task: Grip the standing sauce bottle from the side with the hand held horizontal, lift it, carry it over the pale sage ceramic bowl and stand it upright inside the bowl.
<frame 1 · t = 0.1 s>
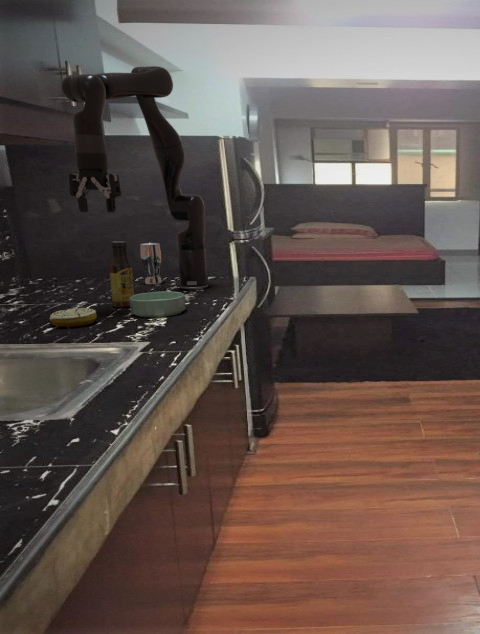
hand: (97, 212, 167), 29 cm above the counter, tool pointing down, fingers open, 8 cm apart
decorated donut: (74, 324, 161), on the counter
sauce bottle: (124, 306, 185), on the counter
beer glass: (153, 284, 225), on the counter
bowl: (159, 312, 176), on the counter
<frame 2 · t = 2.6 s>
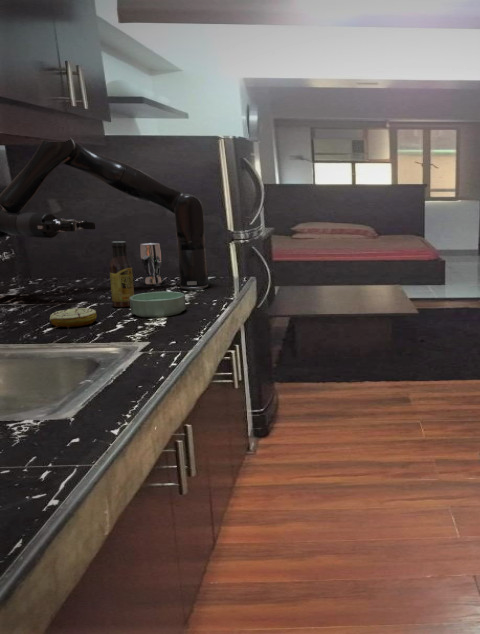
hand: (84, 226, 182), 24 cm above the counter, tool horizontal, fingers open, 8 cm apart
nothing on the counter moved.
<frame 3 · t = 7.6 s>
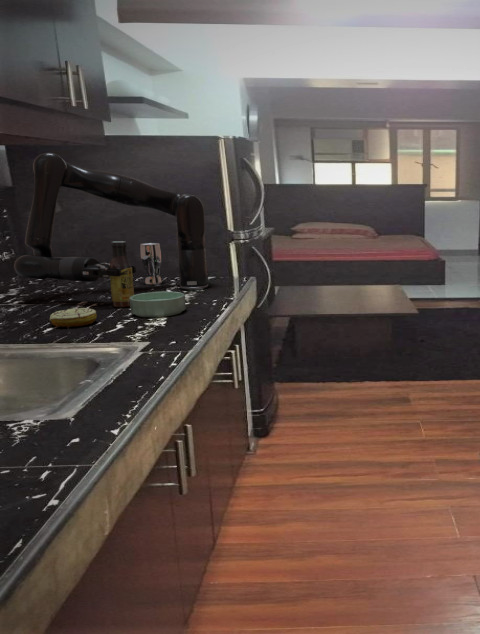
hand: (127, 271, 182), 11 cm above the counter, tool horizontal, fingers closed on sauce bottle, 6 cm apart
sauce bottle: (124, 306, 185), on the counter, touching gripper
everything else where it was.
when the fingers open (12 cm above the counter, at t = 17.0 s): sauce bottle stays where it is, resting on bowl.
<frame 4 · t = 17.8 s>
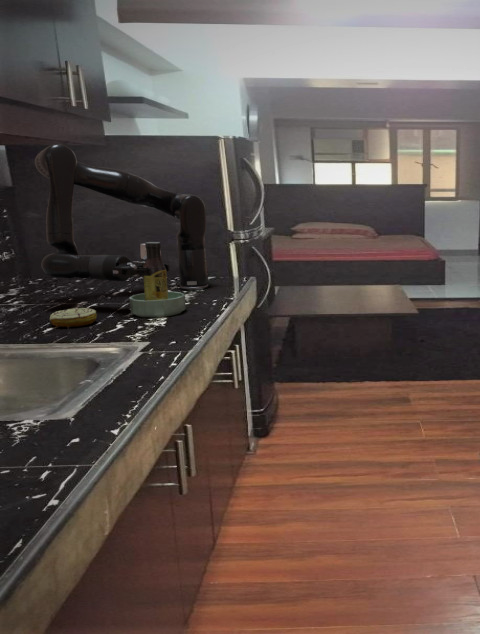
hand: (159, 269, 173), 13 cm above the counter, tool horizontal, fingers open, 8 cm apart
sauce bottle: (158, 310, 176), point 1 cm above the counter, touching bowl
everything else where it was.
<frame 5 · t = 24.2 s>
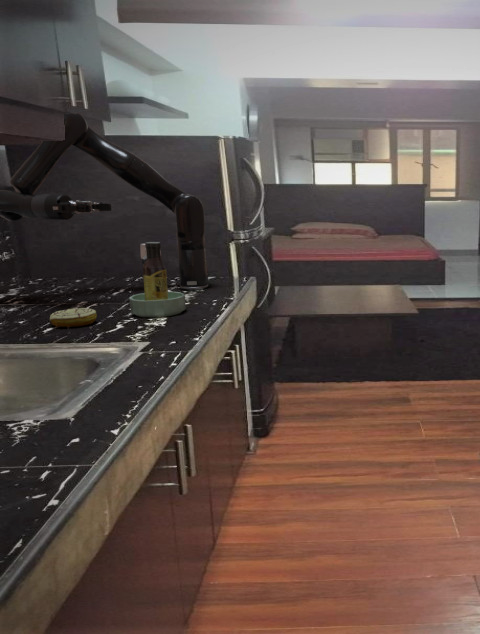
hand: (100, 207, 177), 30 cm above the counter, tool horizontal, fingers open, 8 cm apart
nothing on the counter moved.
at the end: sauce bottle inside the target area in the bowl (0.3 cm from its centre), point 0.6 cm above the bowl's base; sauce bottle tilted 0°; the gripper is holding nothing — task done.
